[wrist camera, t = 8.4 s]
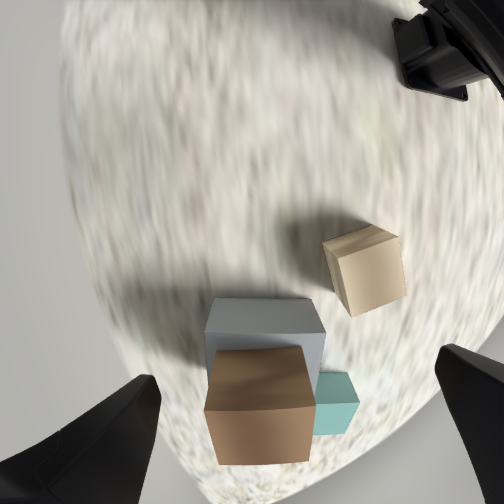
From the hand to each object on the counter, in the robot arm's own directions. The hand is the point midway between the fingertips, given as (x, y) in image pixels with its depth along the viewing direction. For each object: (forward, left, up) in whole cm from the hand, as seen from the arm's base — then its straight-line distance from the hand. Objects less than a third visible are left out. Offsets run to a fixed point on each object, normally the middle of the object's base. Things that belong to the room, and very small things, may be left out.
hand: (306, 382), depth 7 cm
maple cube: (-6, +1, -13) cm, 14 cm away
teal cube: (-4, +13, -13) cm, 18 cm away
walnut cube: (+1, +7, -8) cm, 10 cm away
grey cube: (+1, +6, -13) cm, 14 cm away
